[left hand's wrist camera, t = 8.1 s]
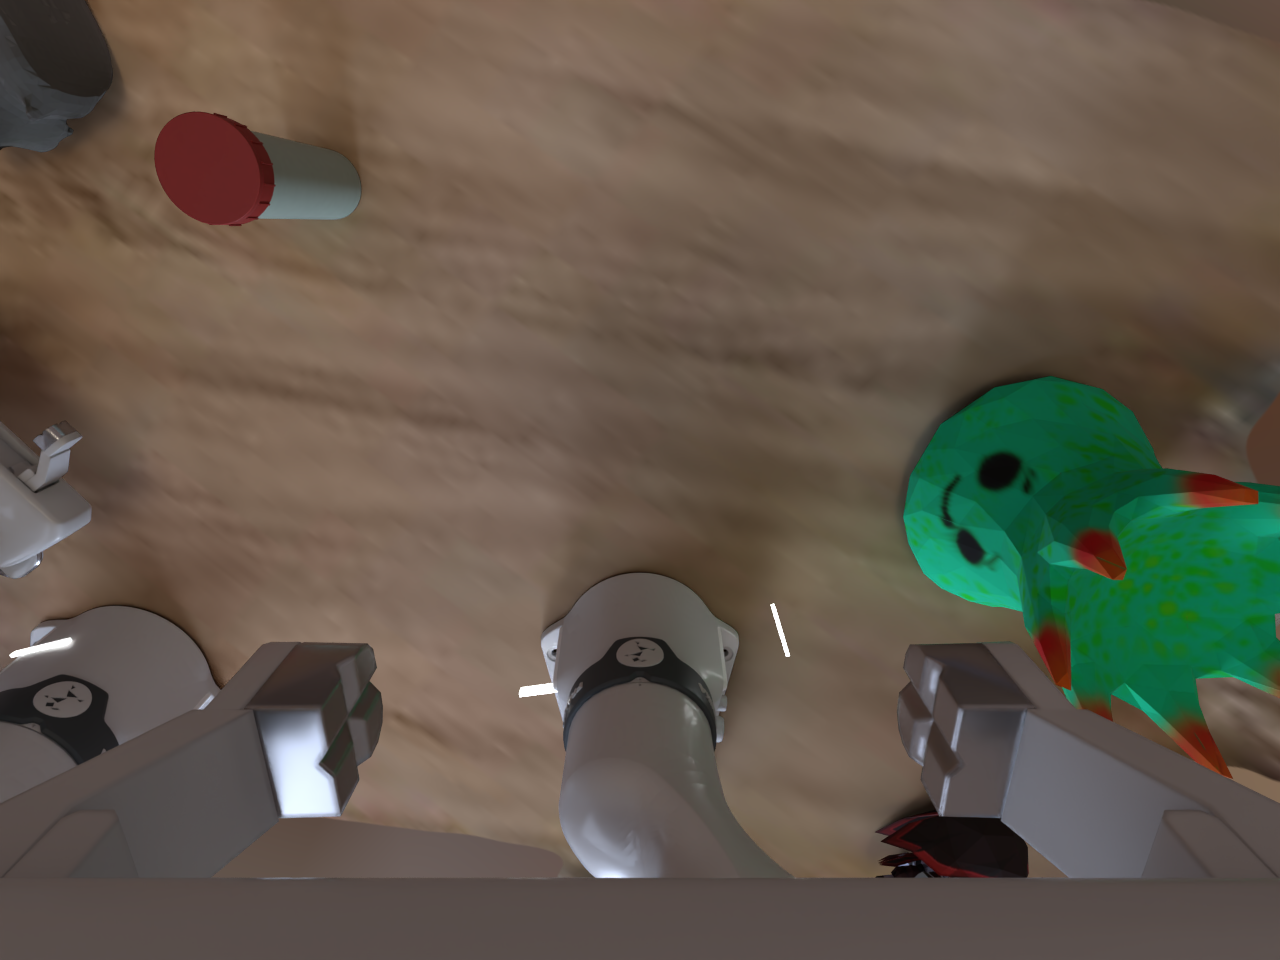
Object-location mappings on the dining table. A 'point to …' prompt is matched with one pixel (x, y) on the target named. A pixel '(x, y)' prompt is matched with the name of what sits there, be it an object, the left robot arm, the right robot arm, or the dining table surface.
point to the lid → (214, 169)
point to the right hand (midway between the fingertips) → (10, 375)
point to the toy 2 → (1102, 551)
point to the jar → (309, 181)
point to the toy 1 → (954, 848)
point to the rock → (48, 70)
